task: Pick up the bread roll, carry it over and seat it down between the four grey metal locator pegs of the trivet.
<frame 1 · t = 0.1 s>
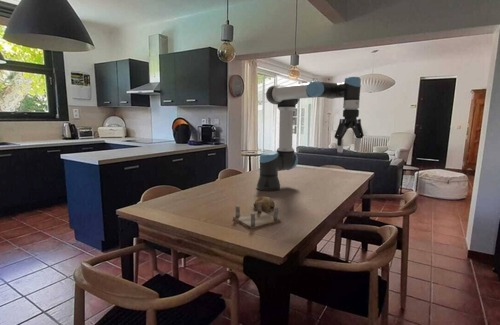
hand: (348, 151, 144), 28 cm above the table, fingers open, 13 cm apart
bread roll: (263, 209, 141), on the table
trivet: (256, 220, 124), on the table
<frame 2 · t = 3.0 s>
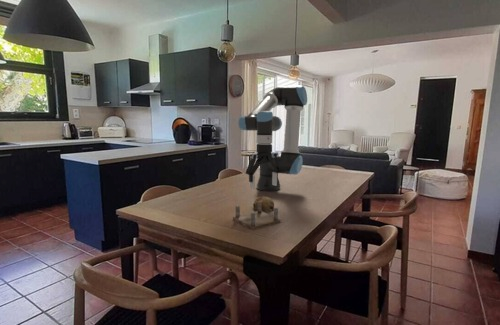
hand: (263, 186, 139), 11 cm above the table, fingers open, 13 cm apart
nothing on the table moved.
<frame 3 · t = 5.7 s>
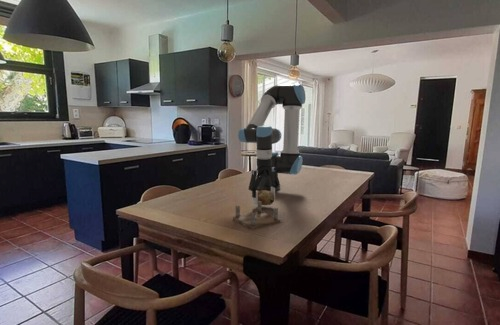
hand: (264, 201, 141), 3 cm above the table, fingers closed on bread roll, 10 cm apart
bread roll: (263, 202, 141), point 3 cm above the table, touching gripper
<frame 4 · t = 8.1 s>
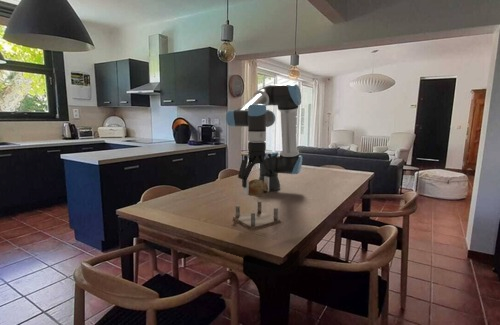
hand: (256, 192, 122), 13 cm above the table, fingers closed on bread roll, 10 cm apart
bread roll: (255, 194, 122), point 12 cm above the table, touching gripper
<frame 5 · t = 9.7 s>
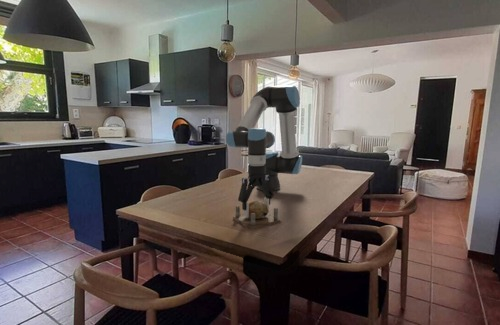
hand: (256, 214, 123), 3 cm above the table, fingers closed on bread roll, 10 cm apart
bread roll: (255, 215, 124), point 2 cm above the table, touching gripper
when the fingers open (3 cm above the table, at t = 10.7 s): bread roll drops 1 cm, resting on trivet.
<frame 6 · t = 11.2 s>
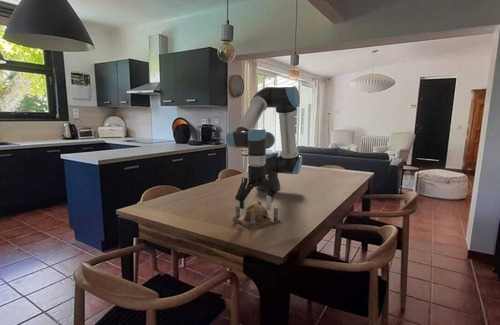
hand: (256, 212, 123), 4 cm above the table, fingers open, 13 cm apart
bread roll: (255, 218, 124), point 1 cm above the table, touching trivet
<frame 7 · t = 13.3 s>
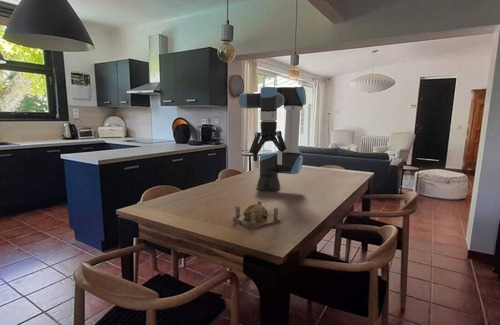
hand: (268, 166, 134), 22 cm above the table, fingers open, 13 cm apart
nothing on the table moved.
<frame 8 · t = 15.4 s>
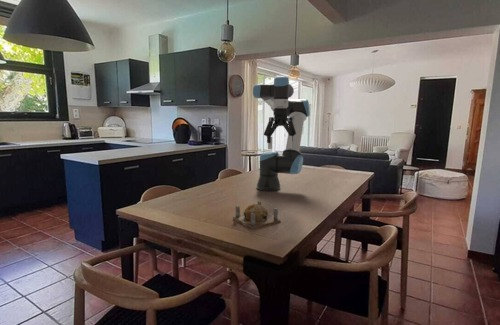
hand: (280, 148, 150), 29 cm above the table, fingers open, 13 cm apart
nothing on the table moved.
at the end: bread roll inside the target area on the trivet (0.6 cm from its centre), point 1.0 cm above the trivet's base; bread roll touching trivet; the gripper is holding nothing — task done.
